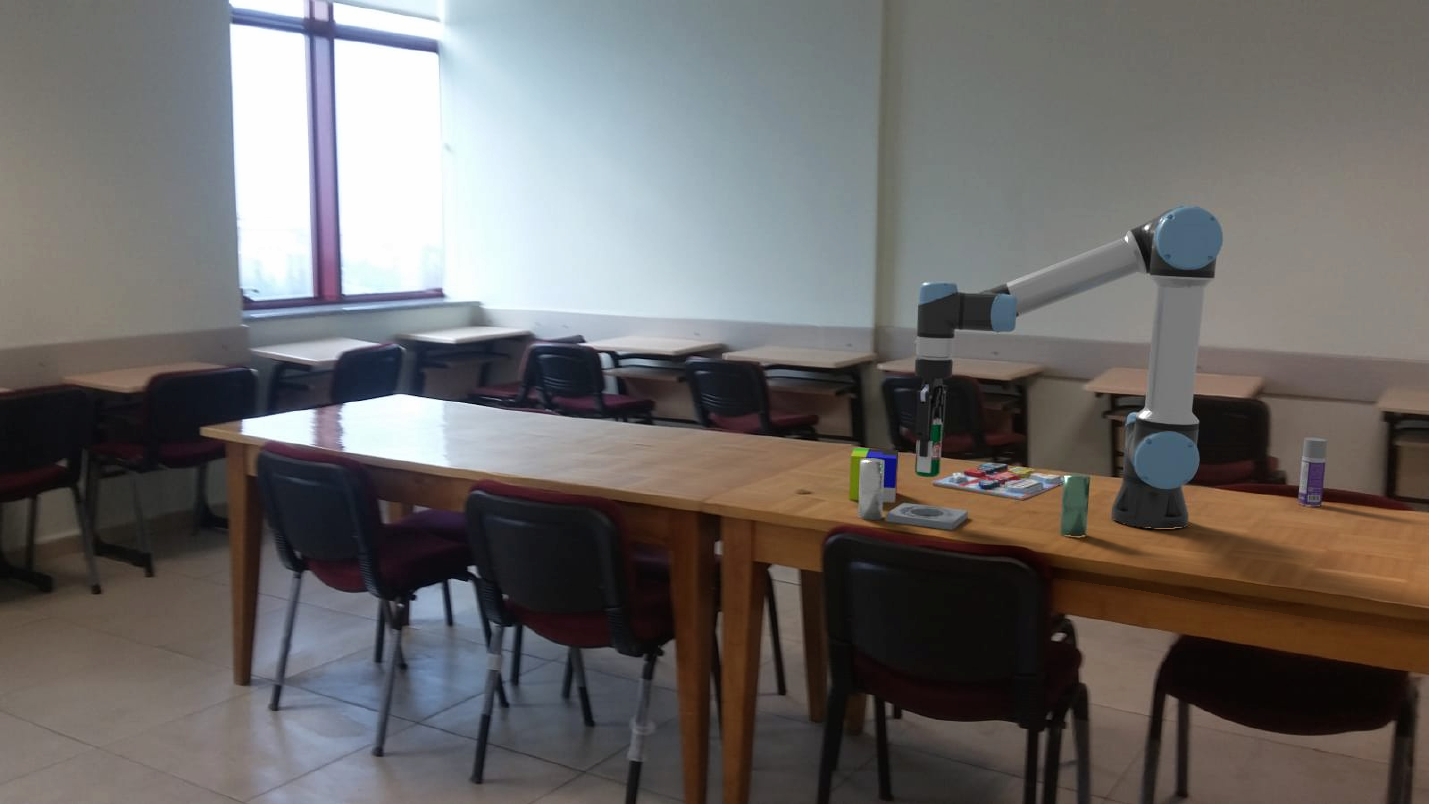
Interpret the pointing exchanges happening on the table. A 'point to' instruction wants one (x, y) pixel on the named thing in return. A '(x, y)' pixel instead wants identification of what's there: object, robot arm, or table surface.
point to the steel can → (871, 489)
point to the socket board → (911, 513)
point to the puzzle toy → (889, 471)
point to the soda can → (933, 449)
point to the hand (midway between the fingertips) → (927, 469)
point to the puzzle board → (1001, 481)
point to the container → (1312, 471)
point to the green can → (1074, 504)
